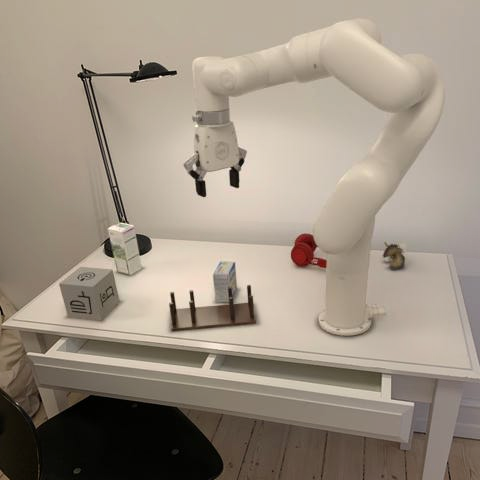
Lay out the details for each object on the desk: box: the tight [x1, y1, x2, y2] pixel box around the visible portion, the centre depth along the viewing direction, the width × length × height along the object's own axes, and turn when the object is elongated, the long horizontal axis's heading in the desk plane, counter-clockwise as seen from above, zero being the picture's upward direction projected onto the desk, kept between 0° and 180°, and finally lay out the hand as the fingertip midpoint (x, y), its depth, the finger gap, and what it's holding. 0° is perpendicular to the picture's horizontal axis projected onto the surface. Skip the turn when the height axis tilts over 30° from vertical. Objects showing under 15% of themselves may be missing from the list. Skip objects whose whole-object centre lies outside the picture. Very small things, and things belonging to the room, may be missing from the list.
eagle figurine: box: [382, 241, 408, 271], centre depth 151 cm, size 8×7×9 cm
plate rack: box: [168, 284, 257, 332], centre depth 130 cm, size 21×10×7 cm, turn 94°
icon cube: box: [58, 266, 120, 322], centre depth 137 cm, size 10×10×10 cm
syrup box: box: [107, 222, 143, 276], centre depth 155 cm, size 6×6×14 cm
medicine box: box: [212, 260, 238, 303], centre depth 139 cm, size 8×4×9 cm, turn 168°
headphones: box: [290, 232, 327, 269], centre depth 155 cm, size 15×7×20 cm
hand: (218, 191), depth 126 cm, fingers open, 9 cm apart
